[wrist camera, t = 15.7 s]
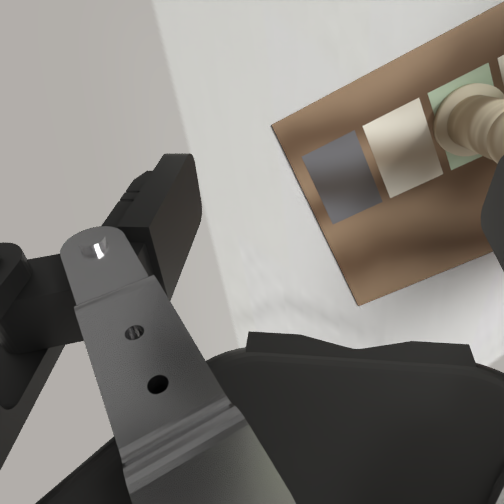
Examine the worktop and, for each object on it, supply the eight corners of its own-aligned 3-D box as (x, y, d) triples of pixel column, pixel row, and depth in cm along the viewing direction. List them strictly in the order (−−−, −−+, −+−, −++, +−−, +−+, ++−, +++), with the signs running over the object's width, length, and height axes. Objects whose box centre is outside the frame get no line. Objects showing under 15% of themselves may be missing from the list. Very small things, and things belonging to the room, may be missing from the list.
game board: (271, 124, 34) (271, 125, 33) (550, -25, 29) (556, -26, 29) (357, 302, 42) (358, 306, 41) (588, 207, 37) (593, 210, 37)
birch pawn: (424, 104, 33) (486, 122, 24) (494, 69, 31) (586, 75, 23) (443, 165, 35) (506, 202, 26) (510, 135, 34) (599, 163, 25)
